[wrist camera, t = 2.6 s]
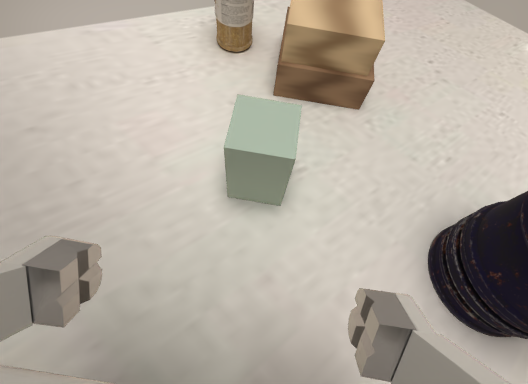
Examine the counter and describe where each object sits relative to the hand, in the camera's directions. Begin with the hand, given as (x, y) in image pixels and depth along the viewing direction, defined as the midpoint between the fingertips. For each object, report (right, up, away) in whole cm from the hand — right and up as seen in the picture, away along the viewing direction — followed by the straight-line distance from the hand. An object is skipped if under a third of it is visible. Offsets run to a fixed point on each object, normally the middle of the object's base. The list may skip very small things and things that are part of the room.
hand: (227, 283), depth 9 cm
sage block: (+1, +4, +19) cm, 19 cm away
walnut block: (+8, +17, +27) cm, 33 cm away
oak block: (+8, +20, +23) cm, 31 cm away
